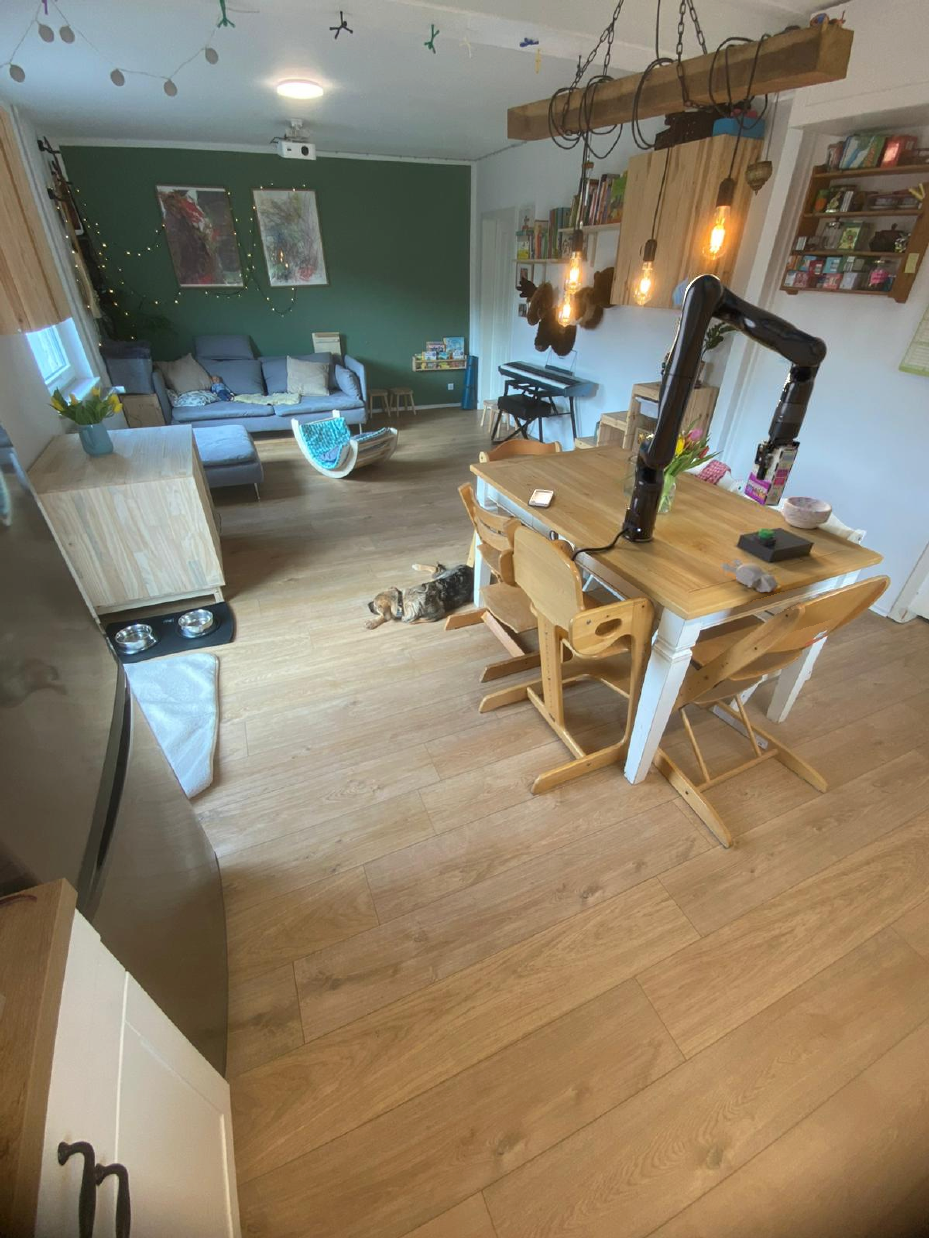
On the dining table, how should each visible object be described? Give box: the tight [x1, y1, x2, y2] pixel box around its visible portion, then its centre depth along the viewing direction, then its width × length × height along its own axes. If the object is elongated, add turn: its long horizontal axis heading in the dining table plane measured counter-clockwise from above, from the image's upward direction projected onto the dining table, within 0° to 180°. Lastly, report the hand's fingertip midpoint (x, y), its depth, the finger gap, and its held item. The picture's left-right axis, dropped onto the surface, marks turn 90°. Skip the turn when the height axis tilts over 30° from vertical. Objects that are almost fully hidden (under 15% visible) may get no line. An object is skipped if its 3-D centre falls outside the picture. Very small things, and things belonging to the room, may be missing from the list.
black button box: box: [736, 527, 815, 563], centre depth 173 cm, size 18×13×6 cm
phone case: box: [528, 488, 554, 508], centre depth 209 cm, size 7×1×15 cm
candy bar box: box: [743, 439, 799, 507], centre depth 155 cm, size 11×5×16 cm, turn 5°
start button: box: [758, 528, 774, 539], centre depth 169 cm, size 4×4×2 cm
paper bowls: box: [780, 495, 834, 530], centre depth 192 cm, size 15×15×8 cm
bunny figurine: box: [720, 558, 779, 593], centre depth 154 cm, size 10×5×15 cm
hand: (767, 478), depth 156 cm, fingers closed on candy bar box, 6 cm apart
